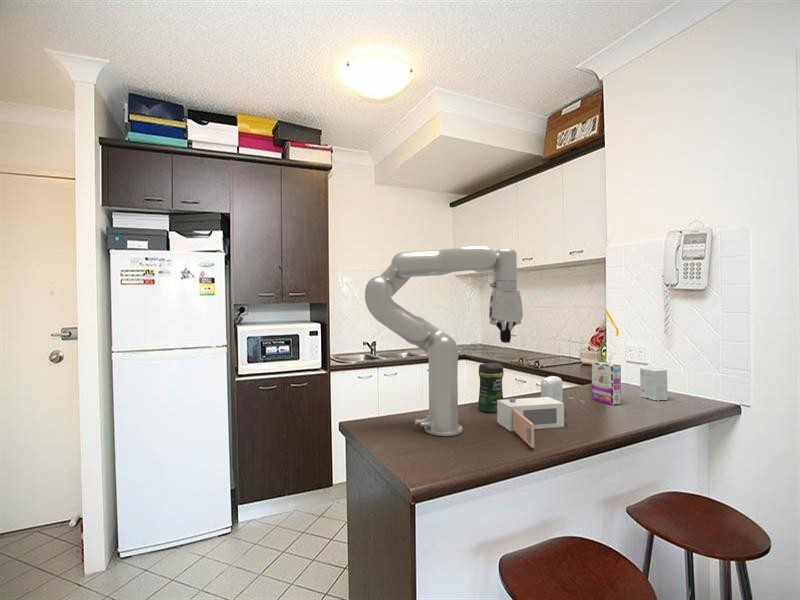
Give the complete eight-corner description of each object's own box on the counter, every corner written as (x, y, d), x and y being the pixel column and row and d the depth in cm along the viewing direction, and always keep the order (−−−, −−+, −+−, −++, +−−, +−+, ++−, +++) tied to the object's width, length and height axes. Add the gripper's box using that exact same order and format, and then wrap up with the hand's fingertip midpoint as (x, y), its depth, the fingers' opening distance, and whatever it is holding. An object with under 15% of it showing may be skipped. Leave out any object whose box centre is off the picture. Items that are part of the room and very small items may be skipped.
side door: (509, 428, 125) (509, 408, 125) (514, 428, 125) (514, 408, 125) (528, 447, 108) (528, 424, 109) (534, 447, 109) (534, 424, 109)
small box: (668, 400, 164) (667, 370, 164) (655, 401, 162) (655, 370, 162) (651, 396, 172) (651, 367, 172) (640, 397, 170) (639, 367, 170)
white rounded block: (555, 404, 159) (554, 374, 159) (564, 406, 155) (564, 375, 156) (539, 407, 153) (539, 377, 154) (548, 410, 150) (548, 378, 150)
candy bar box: (622, 404, 157) (621, 364, 158) (612, 405, 156) (612, 365, 156) (600, 398, 168) (599, 361, 168) (591, 399, 166) (590, 361, 167)
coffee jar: (489, 414, 144) (488, 365, 145) (475, 409, 151) (474, 362, 151) (507, 410, 149) (507, 363, 149) (493, 406, 156) (492, 360, 156)
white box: (510, 431, 125) (509, 403, 125) (497, 422, 134) (497, 397, 134) (569, 426, 129) (569, 399, 130) (553, 418, 138) (553, 393, 139)
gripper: (488, 286, 121) (489, 344, 121) (531, 286, 124) (532, 342, 124) (479, 287, 128) (479, 341, 128) (519, 287, 131) (520, 340, 131)
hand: (505, 342), depth 126 cm, fingers closed
